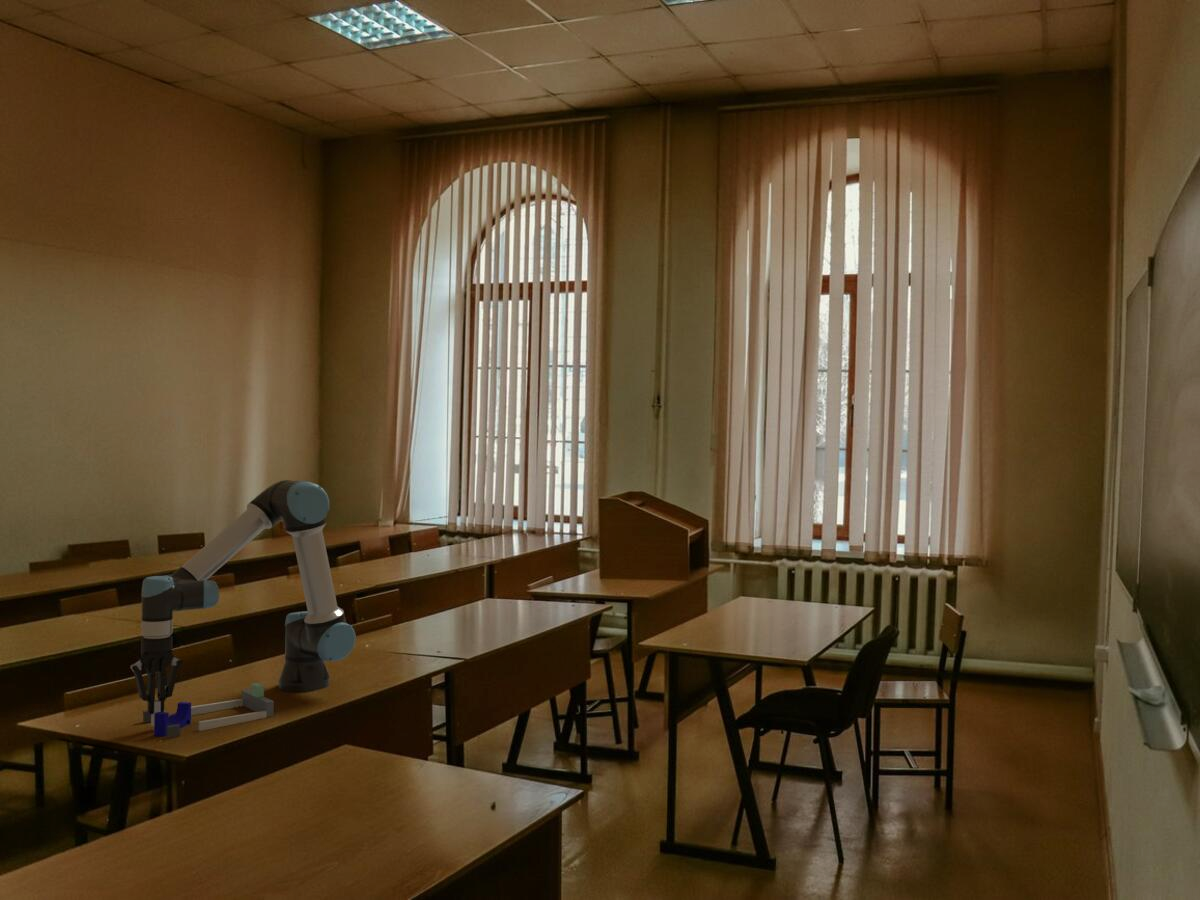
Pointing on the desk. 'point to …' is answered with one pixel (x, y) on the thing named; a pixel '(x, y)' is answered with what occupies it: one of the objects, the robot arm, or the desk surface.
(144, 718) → the holster stops
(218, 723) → the port dock
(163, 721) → the blue u-shaped block
